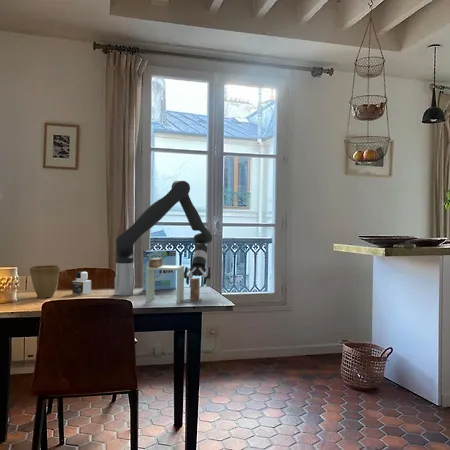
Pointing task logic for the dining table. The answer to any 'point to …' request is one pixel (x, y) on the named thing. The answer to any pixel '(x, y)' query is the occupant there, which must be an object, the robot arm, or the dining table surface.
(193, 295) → the block
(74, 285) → the medicine bottle
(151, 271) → the shelf
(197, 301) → the mat
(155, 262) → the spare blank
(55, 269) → the plant pot
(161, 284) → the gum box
